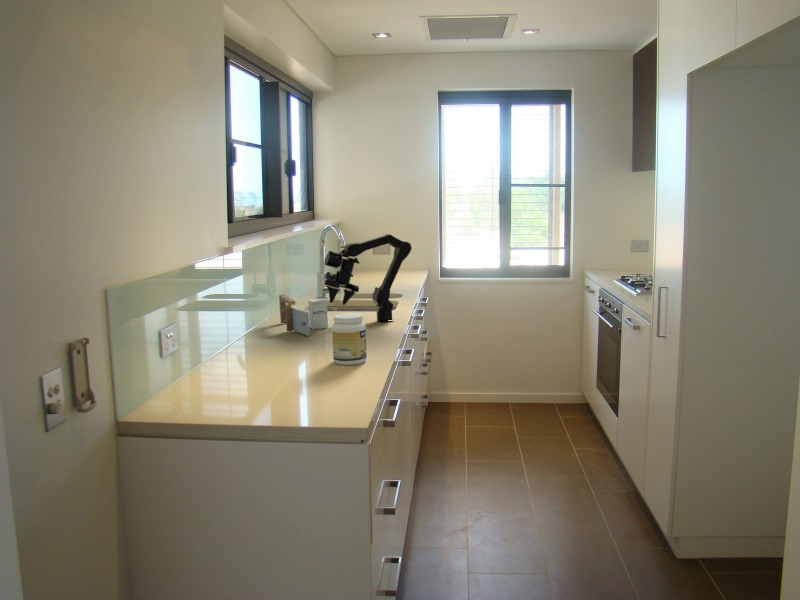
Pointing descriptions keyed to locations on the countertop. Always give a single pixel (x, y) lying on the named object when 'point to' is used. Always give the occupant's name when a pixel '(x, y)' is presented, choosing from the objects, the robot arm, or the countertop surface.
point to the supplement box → (318, 313)
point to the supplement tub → (349, 339)
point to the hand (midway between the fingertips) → (337, 303)
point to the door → (300, 321)
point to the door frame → (286, 311)
